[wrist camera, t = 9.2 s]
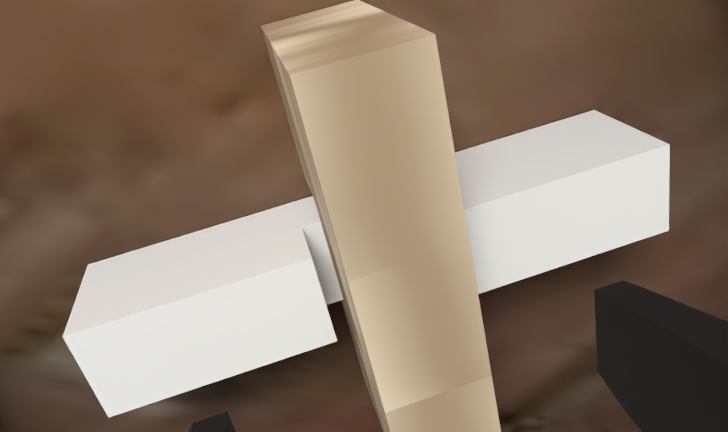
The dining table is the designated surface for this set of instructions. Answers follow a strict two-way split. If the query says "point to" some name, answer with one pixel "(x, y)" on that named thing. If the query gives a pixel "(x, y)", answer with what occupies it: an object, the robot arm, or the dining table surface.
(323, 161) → the light wood plank
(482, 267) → the white building blocks
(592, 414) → the dining table surface
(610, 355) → the robot arm
